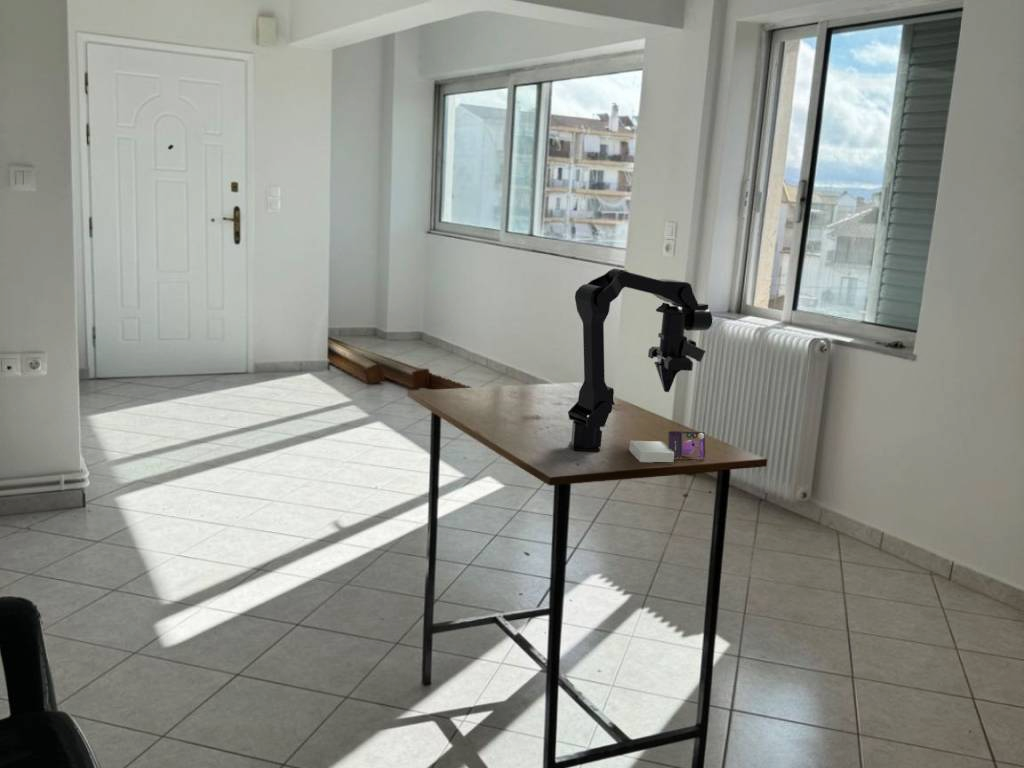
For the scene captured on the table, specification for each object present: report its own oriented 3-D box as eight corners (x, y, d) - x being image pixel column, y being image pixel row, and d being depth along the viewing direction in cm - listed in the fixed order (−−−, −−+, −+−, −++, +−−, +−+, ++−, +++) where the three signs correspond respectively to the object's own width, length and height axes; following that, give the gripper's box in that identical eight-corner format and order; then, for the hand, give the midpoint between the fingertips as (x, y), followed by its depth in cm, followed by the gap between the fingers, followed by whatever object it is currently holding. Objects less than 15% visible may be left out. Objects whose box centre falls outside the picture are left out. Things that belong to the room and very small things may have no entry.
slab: (640, 462, 221) (641, 451, 220) (629, 450, 230) (630, 440, 230) (673, 463, 222) (674, 452, 221) (661, 451, 232) (662, 441, 231)
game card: (669, 430, 225) (705, 432, 227) (662, 432, 231) (698, 433, 232) (670, 459, 224) (706, 460, 226) (663, 460, 230) (698, 461, 231)
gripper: (716, 338, 228) (709, 401, 231) (691, 327, 246) (685, 385, 249) (671, 335, 227) (665, 399, 230) (650, 324, 245) (644, 383, 248)
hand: (666, 391), depth 239 cm, fingers closed
